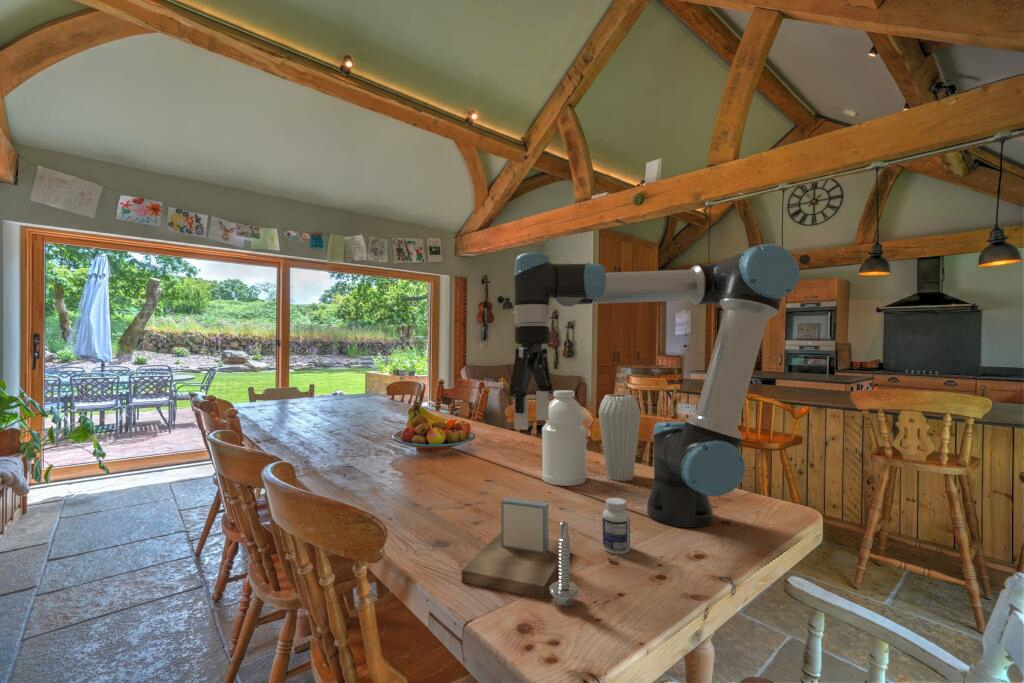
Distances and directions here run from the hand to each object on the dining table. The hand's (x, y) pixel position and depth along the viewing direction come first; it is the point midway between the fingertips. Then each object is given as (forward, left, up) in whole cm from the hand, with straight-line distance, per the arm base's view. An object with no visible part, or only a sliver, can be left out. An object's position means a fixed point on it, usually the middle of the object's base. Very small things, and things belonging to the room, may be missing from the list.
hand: (532, 424), depth 96 cm
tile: (-1, +9, -23) cm, 24 cm away
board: (-1, +12, -25) cm, 27 cm away
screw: (-12, +21, -25) cm, 35 cm away
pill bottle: (-17, -2, -25) cm, 30 cm away
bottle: (+5, -46, -25) cm, 53 cm away
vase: (-11, -55, -25) cm, 61 cm away
